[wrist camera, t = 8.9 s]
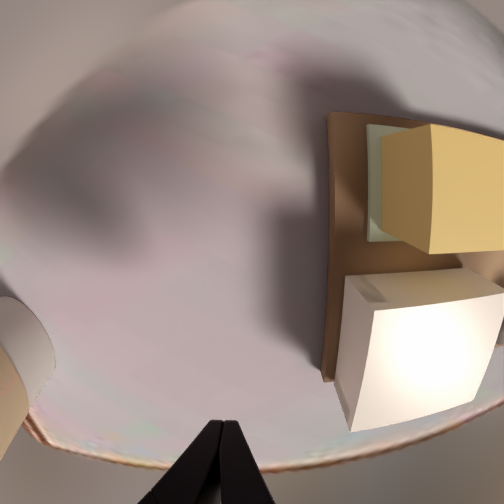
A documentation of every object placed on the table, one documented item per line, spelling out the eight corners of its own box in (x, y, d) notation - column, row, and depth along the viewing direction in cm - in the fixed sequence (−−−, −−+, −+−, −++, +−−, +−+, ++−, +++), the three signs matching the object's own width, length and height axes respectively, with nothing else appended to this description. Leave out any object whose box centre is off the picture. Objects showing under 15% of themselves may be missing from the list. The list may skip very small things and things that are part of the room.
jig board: (538, 155, 12) (572, 157, 8) (514, 332, 15) (540, 353, 12) (326, 115, 12) (349, 97, 9) (320, 371, 15) (332, 413, 12)
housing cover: (466, 267, 12) (509, 292, 9) (443, 364, 14) (472, 400, 10) (345, 275, 13) (374, 310, 9) (333, 383, 14) (349, 432, 11)
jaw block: (452, 146, 11) (509, 142, 7) (451, 229, 12) (506, 250, 8) (380, 136, 11) (430, 124, 7) (381, 230, 12) (428, 254, 8)
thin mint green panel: (455, 137, 11) (459, 137, 11) (453, 238, 12) (457, 239, 12) (366, 125, 11) (368, 123, 11) (366, 240, 12) (369, 241, 12)
